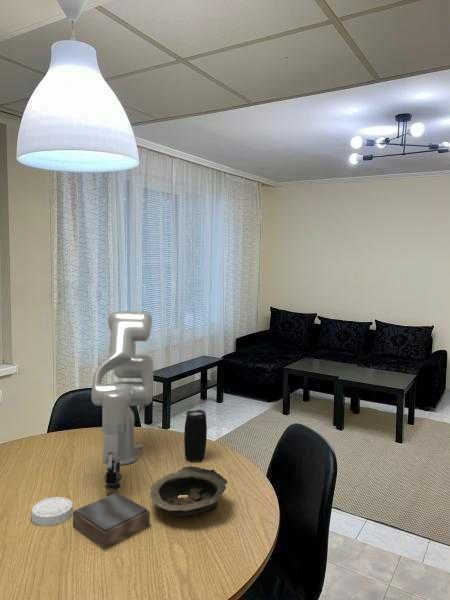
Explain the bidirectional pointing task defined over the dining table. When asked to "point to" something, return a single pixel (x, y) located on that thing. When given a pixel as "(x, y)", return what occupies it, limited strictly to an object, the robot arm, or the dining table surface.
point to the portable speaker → (195, 435)
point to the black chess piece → (118, 478)
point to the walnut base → (111, 519)
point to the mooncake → (52, 511)
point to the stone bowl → (188, 491)
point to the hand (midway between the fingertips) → (113, 477)
